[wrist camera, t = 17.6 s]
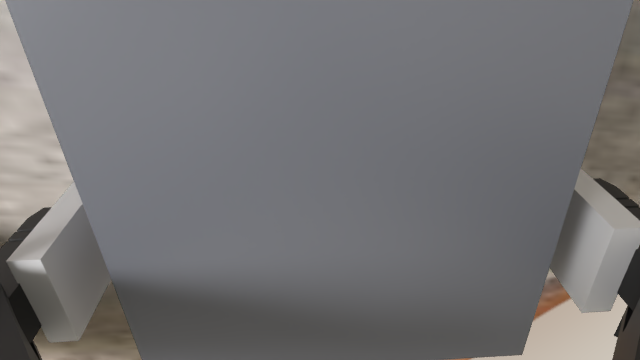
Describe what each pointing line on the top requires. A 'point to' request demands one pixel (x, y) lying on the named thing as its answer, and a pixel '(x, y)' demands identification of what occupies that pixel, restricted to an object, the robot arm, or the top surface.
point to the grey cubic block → (324, 164)
